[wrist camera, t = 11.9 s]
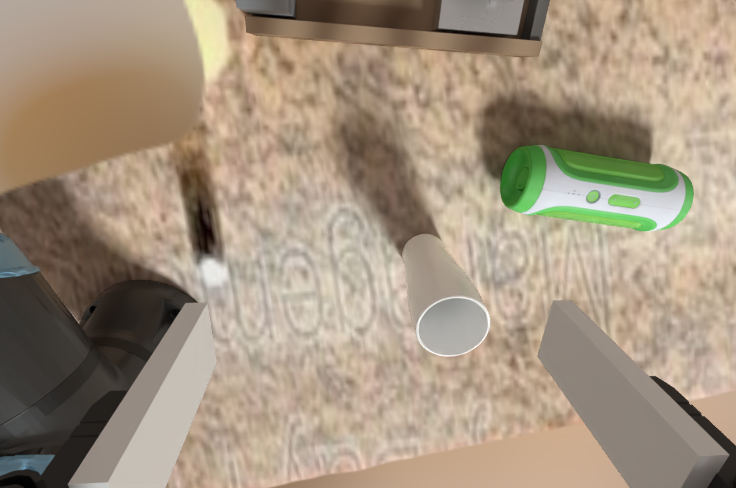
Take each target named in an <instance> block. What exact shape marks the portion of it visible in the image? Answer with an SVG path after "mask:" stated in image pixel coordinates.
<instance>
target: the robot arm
mask: <svg viewBox="0 0 736 488" xmlns="http://www.w3.org/2000/svg"><path fill="white" fill-rule="evenodd" d="M40 271H41V269H40V268H39V267H38V266H34V265H33V264H32V263H31V262H30V261H29V260H28V258H27V257H26V256H25V255H24V254H23V253H22V251H21V250H20V249H19V248H18V247H17V246H16V244H15V243H14V242H13V241H12V240H11V239H10V238H9V237H7V236H6V235H4V234H2V233H0V488H165V487H166V485H167V482H168V480H169V477H170V475H171V473H172V470H173V468H174V465H175V463H176V460H177V458H178V456H179V453H180V451H181V448H182V446H183V443H184V441H185V438H186V436H187V434H188V431H189V429H190V426H191V424H192V421H193V419H194V417H195V414H196V412H197V409H198V407H199V404H200V402H201V400H202V397H203V395H204V392H205V390H206V387H207V385H208V382H209V380H210V378H211V375H212V373H213V370H214V368H215V365H216V363H217V360H216V354H215V348H214V341H213V334H212V328H211V322H210V316H209V309H208V303H196V302H195V301H194V300H193V299H192V298H190V297H189V296H188V295H186V294H185V293H183V292H181V291H179V290H178V289H176V288H173V287H171V286H168V285H165V284H162V283H158V282H153V281H145V280H135V281H127V282H123V283H119V284H116V285H114V286H112V287H110V288H108V289H107V290H105V291H104V292H103V293H102V294H101V295H100V296H98V297H97V298H96V299H95V300H94V301H93V302H92V303H91V304H90V305H89V307H88V308H87V309H86V311H85V313H84V315H83V317H82V319H81V322H80V324H78V322H77V321H76V320H75V318H74V317H73V316H72V314H71V313H70V312H69V310H68V309H67V308H66V306H65V305H64V304H63V302H62V301H61V300H60V298H59V297H58V296H57V294H56V293H55V292H54V290H53V289H52V288H51V286H50V285H49V284H48V282H47V281H46V280H45V278H44V277H43V276H42V274H41V273H40ZM538 358H539V359H540V361H541V362H542V363H543V365H544V366H545V368H546V369H547V371H548V372H549V373H550V375H551V376H552V378H553V379H554V380H555V382H556V383H557V385H558V386H559V388H560V389H561V390H562V392H563V393H564V395H565V396H566V398H567V399H568V400H569V402H570V403H571V405H572V406H573V408H574V409H575V410H576V412H577V413H578V415H579V416H580V417H581V419H582V420H583V422H584V423H585V425H586V426H587V427H588V429H589V430H590V432H591V433H592V435H593V436H594V437H595V439H596V440H597V442H598V443H599V445H600V446H601V447H602V449H603V450H604V451H605V453H606V454H607V456H608V457H609V459H610V460H611V461H612V463H613V464H614V466H615V467H616V469H617V470H618V472H619V473H620V474H621V476H622V477H623V478H624V480H625V482H626V483H627V484H628V486H629V487H630V488H736V446H735V445H734V444H733V443H732V442H731V441H730V440H729V439H728V438H727V437H726V436H725V435H724V434H723V433H722V432H721V431H719V430H718V429H717V428H716V427H715V426H714V425H713V424H712V423H711V422H710V421H709V420H708V419H707V418H705V417H704V416H702V415H701V413H700V412H699V411H698V410H697V409H696V408H695V407H694V406H693V405H690V404H689V401H688V400H686V399H685V398H684V397H683V396H682V395H681V394H680V393H679V392H678V391H677V390H676V389H675V388H673V387H672V386H670V385H669V384H667V383H666V382H664V381H662V380H661V379H659V378H658V377H656V376H648V375H647V374H646V373H645V372H644V371H643V370H642V369H641V368H640V367H639V366H638V365H637V364H636V363H635V362H634V361H633V360H632V359H631V358H630V357H629V356H628V355H627V354H626V353H625V352H624V351H623V350H622V349H621V348H620V347H619V346H618V345H617V344H616V343H615V342H614V341H613V340H612V339H611V338H610V337H609V336H608V335H607V334H605V333H604V332H603V331H602V330H601V329H600V328H599V327H598V326H597V325H596V324H595V323H594V322H593V321H592V320H591V319H590V318H589V317H588V316H587V315H586V314H585V313H584V312H583V311H582V310H581V309H580V308H579V307H578V306H577V305H576V304H575V303H574V302H573V301H572V300H563V301H553V303H552V306H551V310H550V313H549V317H548V320H547V324H546V327H545V331H544V334H543V338H542V341H541V345H540V349H539V352H538Z"/></svg>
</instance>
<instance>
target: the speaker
mask: <svg viewBox="0 0 736 488" xmlns="http://www.w3.org/2000/svg"><path fill="white" fill-rule="evenodd" d="M500 193H501V198H502V201H503V203H504V204H505V206H506V207H508V208H510V209H512V210H514V211H516V212H519V213H522V214H525V215H534V214H537V215H542V216H548V217H555V218H562V219H569V220H576V221H584V222H591V223H598V224H605V225H612V226H619V227H626V228H632V229H635V230H638V231H656V230H663V229H668V228H671V227H673V226H675V225H676V224H678V223H679V222H680V221H681V220H682V219H683V218H684V217H685V216H686V215H687V213H688V212H689V210H690V208H691V205H692V202H693V196H694V192H693V185H692V183H691V181H690V179H689V178H688V177H687V176H686V175H685V174H683V173H682V172H680V171H678V170H676V169H674V168H671V167H669V166H666V165H662V164H649V163H643V162H636V161H630V160H624V159H617V158H611V157H605V156H599V155H593V154H587V153H581V152H575V151H569V150H563V149H558V148H550V147H549V146H546V145H530V146H522V147H519V148H517V149H516V150H515V151H514V152H513V153H512V154H511V155H510V157H509V158H508V160H507V162H506V164H505V167H504V169H503V173H502V177H501V184H500Z"/></svg>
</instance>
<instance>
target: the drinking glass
mask: <svg viewBox="0 0 736 488" xmlns="http://www.w3.org/2000/svg"><path fill="white" fill-rule="evenodd" d="M402 259H403V263H404V269H405V278H406V288H407V299H408V307H409V312H410V317H411V321H412V324H413V328H414V331H415V334H416V337H417V339H418V341H419V343H420V344H421V345H422V346H423V347H424V348H425V349H426V350H427V351H429V352H431V353H433V354H436V355H440V356H457V355H461V354H464V353H467V352H469V351H471V350H473V349H474V348H476V347H477V346H478V345H479V344H480V343H481V342H482V341H483V340H484V339H485V337H486V335H487V333H488V331H489V328H490V316H489V312H488V310H487V308H486V306H485V304H484V302H483V300H482V298H481V296H480V294H479V292H478V290H477V289H476V287H475V286H474V284H473V283H472V281H471V280H470V279H469V277H468V276H467V275H466V273H465V272H464V271H463V269H462V268H461V267H460V266H459V264H458V263H457V262H456V261H455V259H454V258H453V257H452V255H451V254H450V253H449V251H448V250H447V249H446V247H445V245H444V243H443V242H442V241H441V240H440V239H439V238H438V237H436V236H434V235H431V234H419V235H416V236H414V237H412V238H411V239H410V240H409V241H408V242H407V243H406V244H405V246H404V248H403V252H402Z"/></svg>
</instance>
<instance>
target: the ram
mask: <svg viewBox="0 0 736 488" xmlns="http://www.w3.org/2000/svg"><path fill="white" fill-rule="evenodd" d="M523 3H524V0H437V2H436V10H435V18H434V26H433V31H445V32H457V33H468V34H480V35H492V36H503V37H508V36H514V35H517V32H518V27H519V22H520V18H521V13H522V8H523Z"/></svg>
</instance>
